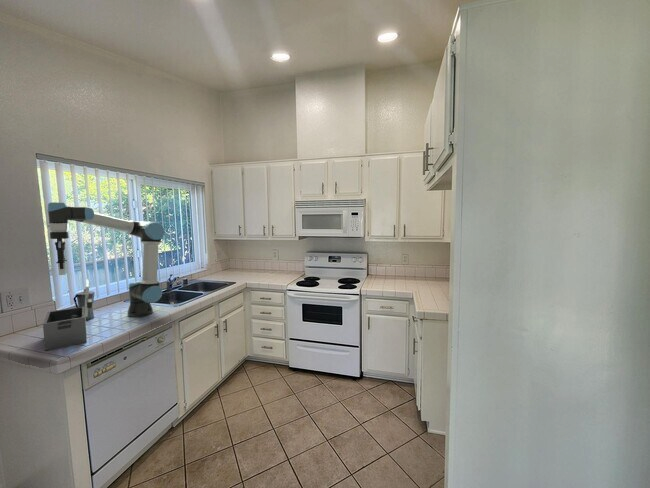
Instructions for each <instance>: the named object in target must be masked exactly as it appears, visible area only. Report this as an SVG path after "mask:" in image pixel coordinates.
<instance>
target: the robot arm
mask: <svg viewBox="0 0 650 488" xmlns="http://www.w3.org/2000/svg"><path fill="white" fill-rule="evenodd" d="M47 213H48V223H49V225H47V227H48V228H49V231H50V232H49V237H50V239H51V240H56V242H54V245H55V250H56V255H57V261H56V264H57V266H58V268H57V269H58V276H65V275H66V274H67V270H66V262H67V259H66V258H65V257H66V255H65V250H66V247H65V246H66V242H65V241H64V239H69V238H70V234H69V221H74V222H79V223H84V224H88V225H92V226H97V227H101V228H106V229H110V230H114V231H119V232H124V233H126V235H129V236H133V237H137V238H140V242H141V243H142V244H143V246H142V249H143V251H142V274H141V275H142V279H141V280H138V281H134V282H133V281H131V282H129V284H128V293H129V306H128V310H127V316H128V317H130V318H131V317H133V318H137V317H143V316H149V315H151V314H152V313H153V312H154V310H153V306H152V303H153V304H154V303H156V302H158V301H159V300H160V299H161V298H162V295H163V290H162V288H161V287H160V281H159V280H158V266H159V265H158V263H159V261H158V260H159V259H158V258H159V244H161V241H162V238H163V237H164V236H165V228H164V226H163V225H162V224H161V223H159V222H155V221H136V220H129V221H128V220H126V219H120V218H117V217H113V216H109V215H106V214H102V213H97V212H95V210H94V208H93V207H90V206H67V203H66V202H56V201H55V202H48V204H47Z"/></svg>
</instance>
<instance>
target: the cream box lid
mask: <svg viewBox="0 0 650 488" xmlns="http://www.w3.org/2000/svg"><path fill="white" fill-rule="evenodd" d="M89 282H90V281H89V278H85V288H84V289H85V317H88V308H92V307H93V306H92V299H88V298H89V292H90V283H89Z"/></svg>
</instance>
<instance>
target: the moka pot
mask: <svg viewBox="0 0 650 488" xmlns="http://www.w3.org/2000/svg"><path fill="white" fill-rule="evenodd" d="M85 289H86V288H84V290H83V291H81V292H78V293H76V294H75V295H74V297H73V302H74V304H75V308H78V307H84V306H85ZM88 299H92V308H88V317H86V321H88V320H92V319H94V318H95V314H94V309H93V304H94V299H95V291H94V290H93V291H92V290H91V291H90V290H89V298H88Z"/></svg>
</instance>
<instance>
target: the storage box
mask: <svg viewBox="0 0 650 488" xmlns="http://www.w3.org/2000/svg"><path fill="white" fill-rule="evenodd" d="M72 315H77V316H78V317H77V318H74V319H71V318H72ZM42 328H43V331H42V332H43V340H44V341H43V342H44V343H43V344H44V351H45V352H47V351H52V350H57V349H63V348H66V347H67V348H68V347H73V346H77V345H81V344H86V343H88V342H87V341H88V340H87V339H88V338H87V336H88V335H87V320H86V317H85V306H84V307H79V306H78V308H76V307H74V308H73V307H72V308H65V309H64V308H63V309H57V310H52V311H51V310H50V311H47V313H46V315H45V317H44V321H43V323H42Z"/></svg>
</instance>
